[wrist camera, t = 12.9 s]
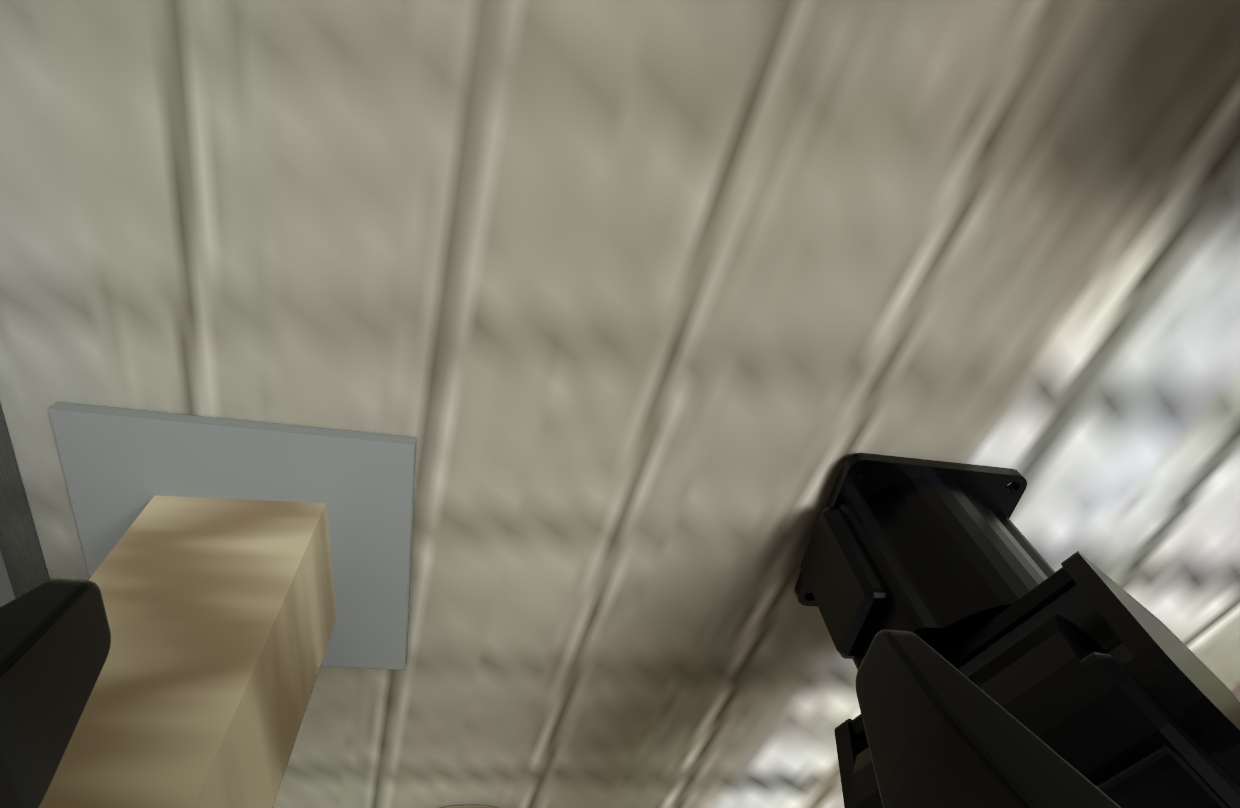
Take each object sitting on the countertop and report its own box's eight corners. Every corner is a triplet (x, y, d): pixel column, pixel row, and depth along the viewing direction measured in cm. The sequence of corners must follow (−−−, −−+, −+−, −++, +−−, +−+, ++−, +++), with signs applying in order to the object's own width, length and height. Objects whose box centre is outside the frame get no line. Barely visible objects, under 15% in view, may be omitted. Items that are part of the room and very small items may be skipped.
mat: (416, 437, 22) (414, 444, 22) (406, 661, 27) (404, 669, 27) (56, 402, 20) (48, 408, 20) (114, 646, 25) (108, 655, 25)
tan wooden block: (325, 503, 23) (103, 1012, 11) (336, 617, 25) (163, 1130, 14) (154, 495, 22) (-264, 1029, 11) (182, 613, 24) (-133, 1150, 13)
